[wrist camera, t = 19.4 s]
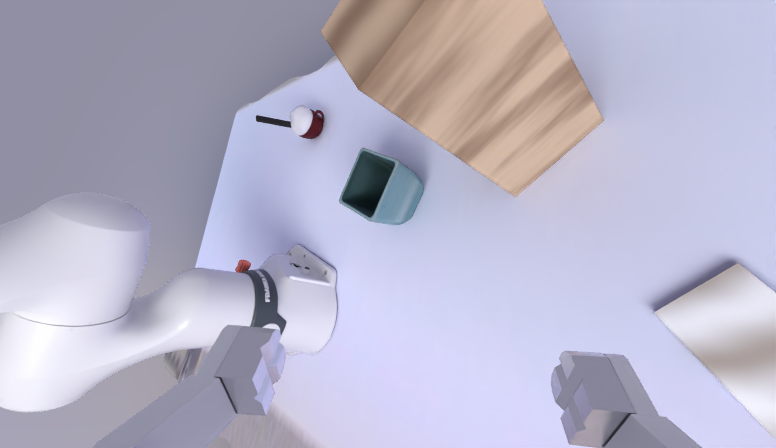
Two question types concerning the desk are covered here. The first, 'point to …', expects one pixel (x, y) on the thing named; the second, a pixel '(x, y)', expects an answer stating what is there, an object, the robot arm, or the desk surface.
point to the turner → (732, 336)
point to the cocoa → (300, 122)
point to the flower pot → (382, 189)
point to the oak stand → (470, 78)
